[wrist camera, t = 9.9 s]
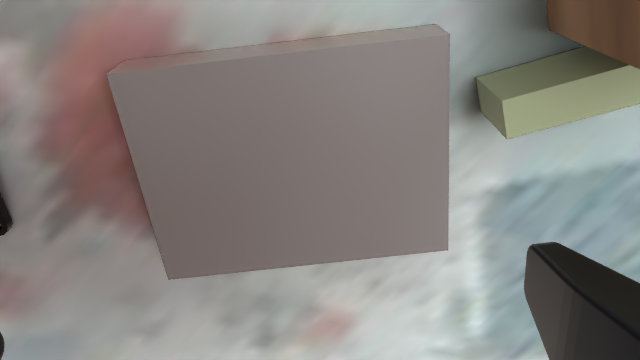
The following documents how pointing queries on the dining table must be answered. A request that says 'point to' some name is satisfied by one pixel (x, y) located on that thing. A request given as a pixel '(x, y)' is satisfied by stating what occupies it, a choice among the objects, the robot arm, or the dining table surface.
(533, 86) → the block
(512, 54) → the dining table surface
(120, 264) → the dining table surface
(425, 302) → the dining table surface
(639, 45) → the walnut card box
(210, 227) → the slate serving board
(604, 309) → the robot arm
